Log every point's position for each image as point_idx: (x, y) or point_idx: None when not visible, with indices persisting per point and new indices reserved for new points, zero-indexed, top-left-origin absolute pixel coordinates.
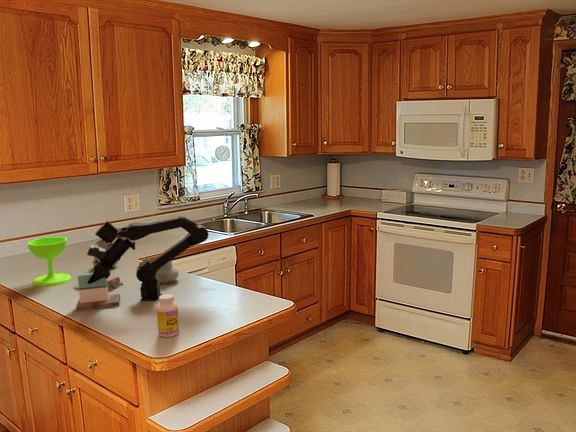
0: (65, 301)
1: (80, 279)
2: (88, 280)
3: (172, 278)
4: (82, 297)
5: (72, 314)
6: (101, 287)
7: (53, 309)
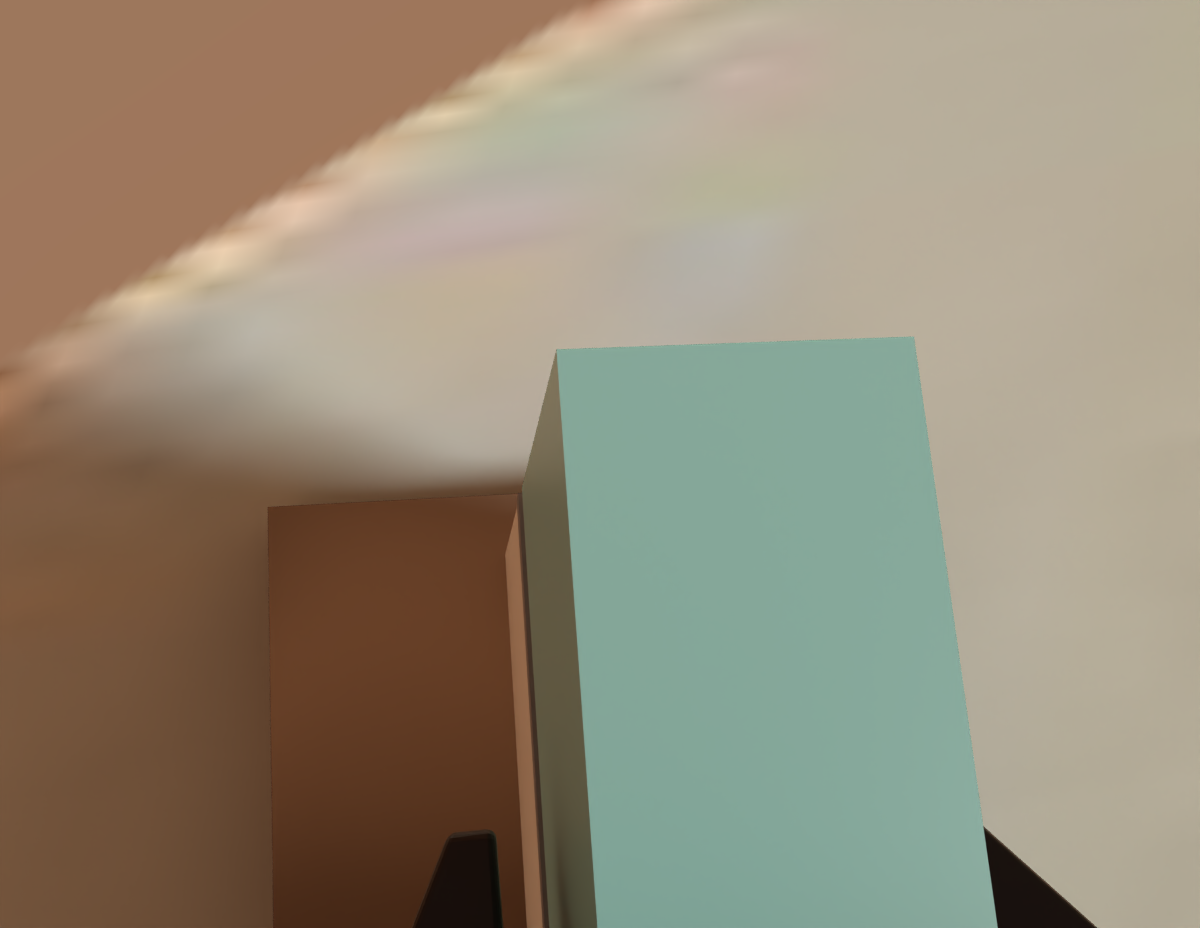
0: (915, 208)
1: (548, 519)
2: (436, 915)
3: None
4: (514, 598)
5: (66, 469)
6: None
7: (504, 67)
